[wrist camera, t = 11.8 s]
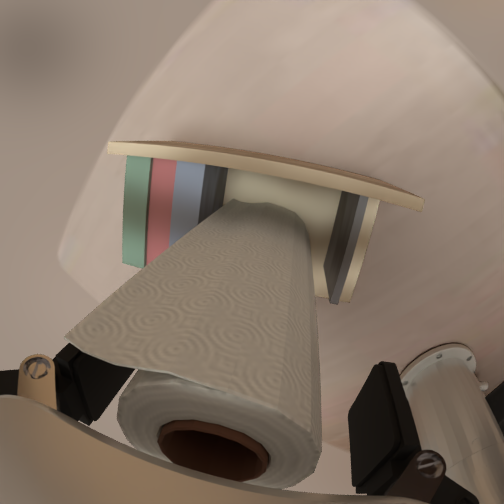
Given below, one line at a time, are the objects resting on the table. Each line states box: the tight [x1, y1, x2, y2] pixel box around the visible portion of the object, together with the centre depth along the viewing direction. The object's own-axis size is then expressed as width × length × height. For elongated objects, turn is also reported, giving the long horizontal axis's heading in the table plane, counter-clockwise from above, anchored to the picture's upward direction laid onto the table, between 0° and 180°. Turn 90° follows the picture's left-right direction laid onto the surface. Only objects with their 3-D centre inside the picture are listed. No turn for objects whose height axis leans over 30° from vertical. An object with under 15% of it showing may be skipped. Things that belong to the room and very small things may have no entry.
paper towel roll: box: [64, 198, 322, 489], centre depth 16 cm, size 7×6×21 cm
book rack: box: [107, 141, 425, 305], centre depth 23 cm, size 12×20×10 cm, turn 81°
